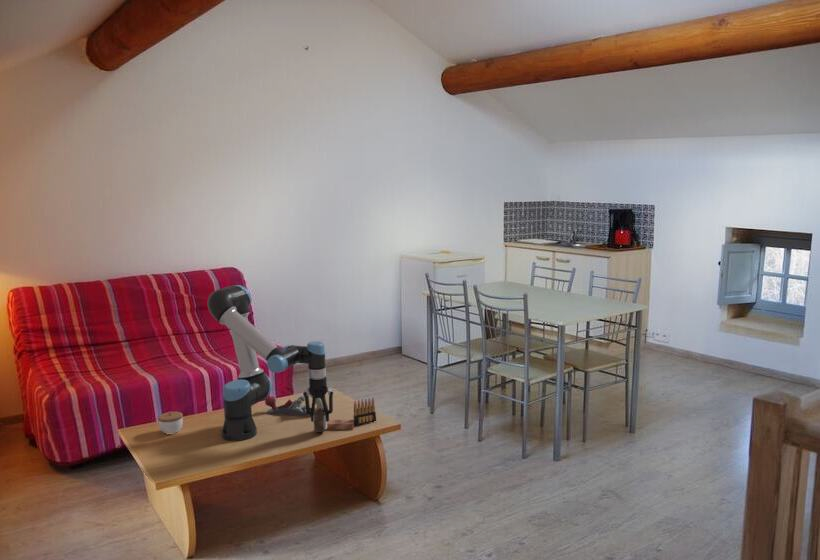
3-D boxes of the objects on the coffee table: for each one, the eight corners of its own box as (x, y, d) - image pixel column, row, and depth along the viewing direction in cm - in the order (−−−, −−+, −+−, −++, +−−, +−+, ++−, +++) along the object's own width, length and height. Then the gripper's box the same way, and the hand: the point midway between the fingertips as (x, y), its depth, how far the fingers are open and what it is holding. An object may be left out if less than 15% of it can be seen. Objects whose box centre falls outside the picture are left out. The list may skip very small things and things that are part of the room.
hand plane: (325, 417, 334) (323, 386, 332) (263, 414, 341) (261, 384, 338) (329, 412, 341) (328, 382, 339) (269, 409, 347) (267, 380, 345)
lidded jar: (159, 438, 313) (157, 417, 311) (158, 430, 322) (156, 410, 321) (185, 434, 317) (183, 413, 315) (183, 426, 326) (181, 406, 325)
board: (319, 429, 318) (319, 424, 318) (321, 425, 324) (321, 419, 323) (352, 429, 317) (352, 424, 317) (354, 425, 322) (354, 419, 322)
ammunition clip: (374, 421, 328) (373, 396, 326) (376, 422, 326) (375, 397, 324) (353, 425, 323) (352, 400, 321) (355, 426, 321) (354, 401, 319)
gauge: (314, 431, 311) (313, 410, 310) (319, 423, 321) (317, 402, 320) (323, 431, 311) (322, 410, 310) (327, 423, 321) (326, 402, 319)
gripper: (296, 380, 308) (299, 431, 311) (335, 379, 306) (338, 431, 310) (300, 375, 315) (303, 425, 319) (338, 374, 314) (341, 425, 317)
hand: (320, 428), depth 314 cm, fingers closed on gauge, 4 cm apart
